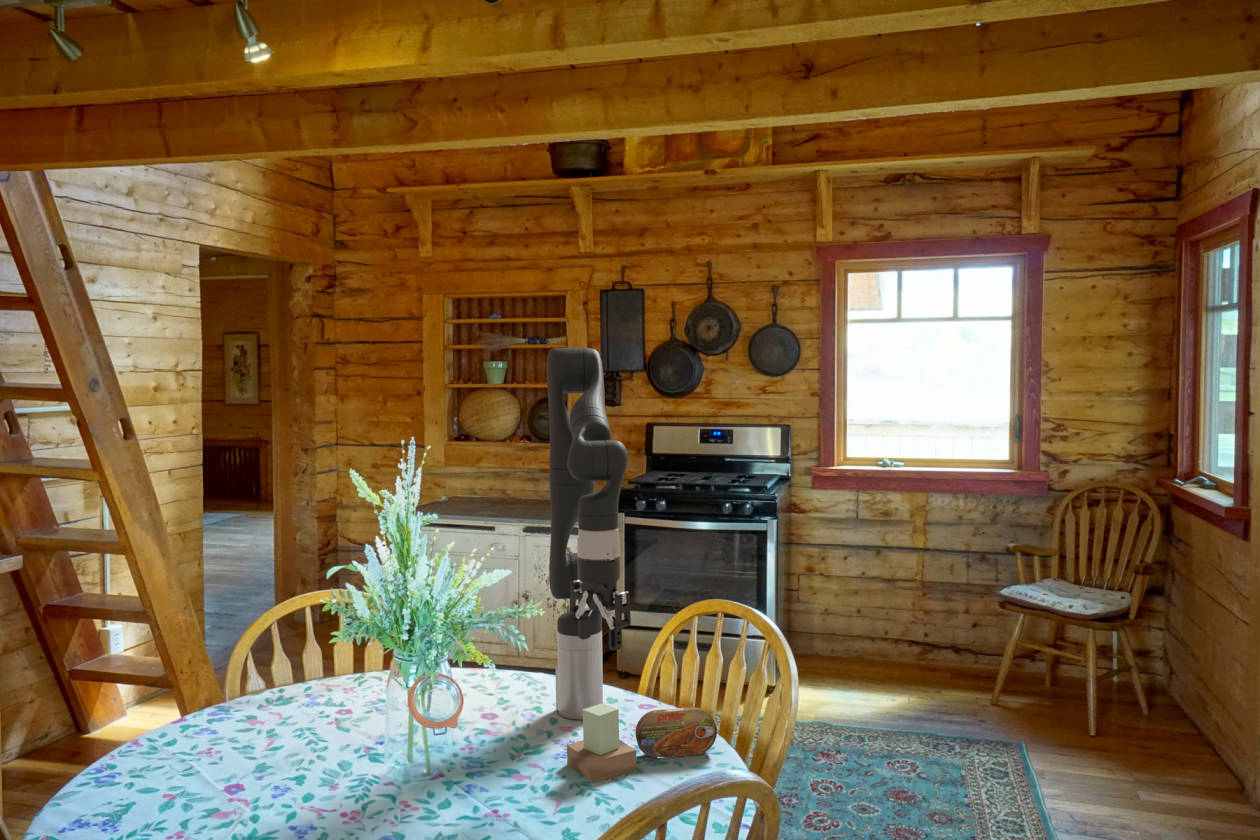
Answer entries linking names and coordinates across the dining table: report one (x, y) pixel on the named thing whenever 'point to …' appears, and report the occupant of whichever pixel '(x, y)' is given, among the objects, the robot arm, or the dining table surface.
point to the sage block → (601, 728)
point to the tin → (675, 732)
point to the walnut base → (601, 761)
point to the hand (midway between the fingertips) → (599, 643)
